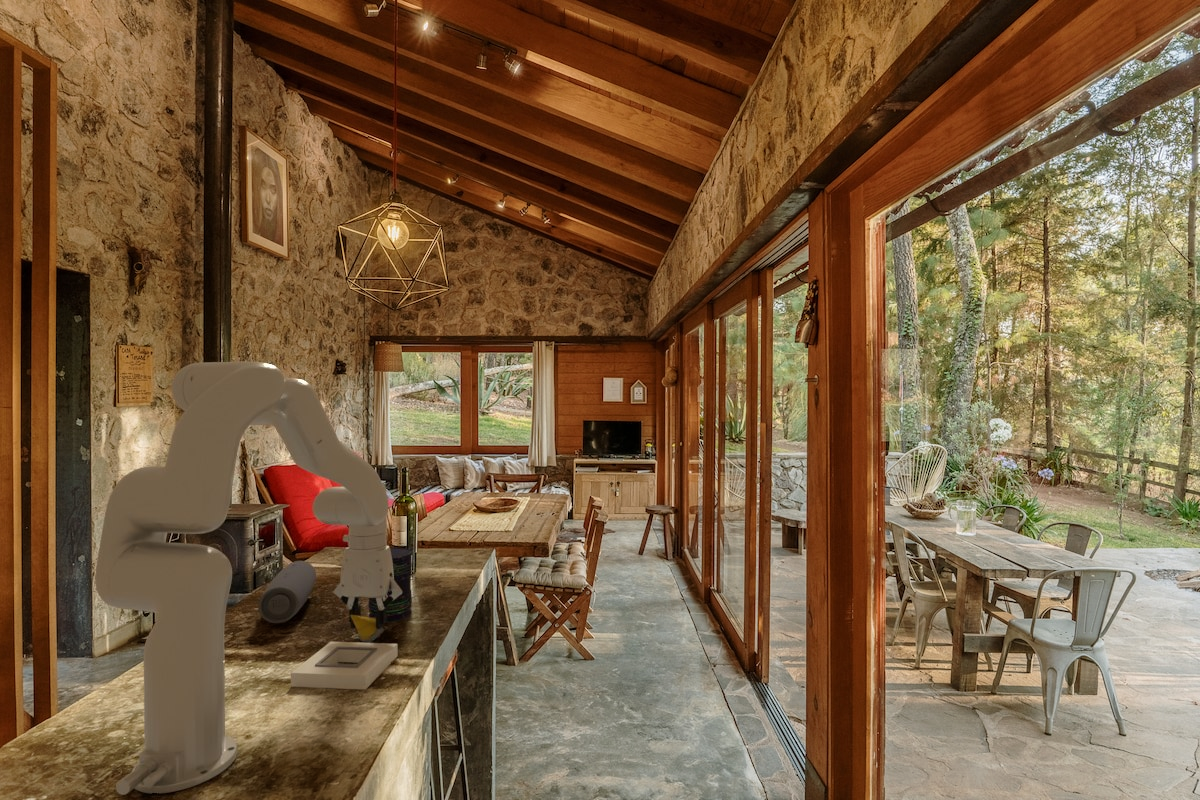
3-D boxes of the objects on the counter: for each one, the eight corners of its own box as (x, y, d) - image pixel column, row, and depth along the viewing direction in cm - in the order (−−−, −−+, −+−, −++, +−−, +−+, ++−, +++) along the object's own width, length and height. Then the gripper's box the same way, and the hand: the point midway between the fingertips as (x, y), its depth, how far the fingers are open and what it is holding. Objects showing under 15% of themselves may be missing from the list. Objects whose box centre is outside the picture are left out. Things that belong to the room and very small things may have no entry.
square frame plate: (365, 689, 111) (365, 674, 110) (290, 686, 112) (290, 671, 112) (397, 656, 124) (397, 642, 124) (330, 653, 126) (330, 640, 126)
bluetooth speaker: (279, 598, 160) (279, 559, 159) (318, 595, 162) (318, 557, 162) (255, 631, 138) (254, 586, 138) (300, 627, 140) (300, 583, 140)
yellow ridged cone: (388, 644, 132) (358, 622, 126) (367, 652, 133) (336, 630, 127) (392, 622, 136) (363, 599, 130) (372, 629, 137) (342, 607, 131)
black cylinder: (368, 610, 150) (368, 549, 150) (410, 605, 154) (410, 546, 153) (368, 625, 141) (368, 560, 141) (413, 619, 144) (413, 556, 144)
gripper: (319, 544, 128) (320, 632, 128) (399, 546, 126) (399, 634, 127) (338, 536, 135) (338, 618, 136) (413, 537, 134) (413, 621, 134)
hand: (368, 625), depth 131 cm, fingers closed on yellow ridged cone, 4 cm apart
